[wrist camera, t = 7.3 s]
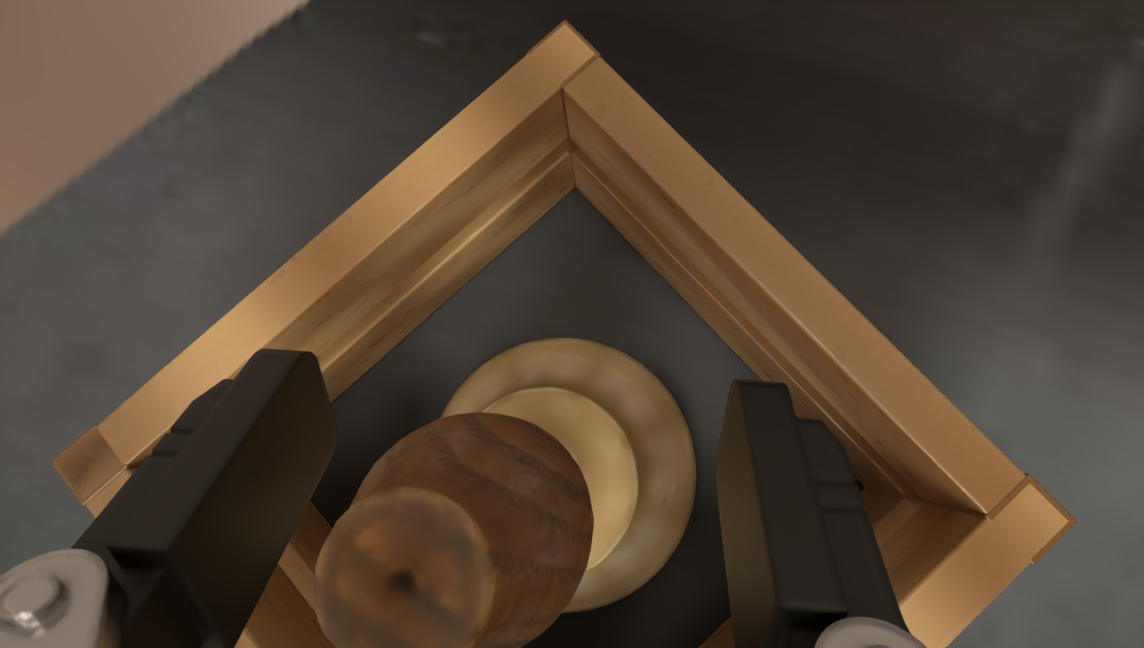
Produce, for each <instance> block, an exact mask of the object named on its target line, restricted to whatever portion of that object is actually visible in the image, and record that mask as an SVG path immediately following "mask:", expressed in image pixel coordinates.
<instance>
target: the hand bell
mask: <svg viewBox="0 0 1144 648" xmlns="http://www.w3.org/2000/svg"><path fill="white" fill-rule="evenodd" d="M696 479H697V470H696V459H695V452H694V447H693V442H692V438H691V435H690V431H689V428H688V426H687V423H686V421H685V419H684V416H683V414H682V412H681V410H680V408H679V406H678V404H677V403H676V401H675V399H674V398H673V396H672V395H671V394H670V392H669V391H668V390H667V389H666V387H665V386H664V385H663V383H662V382H661V381H660V380H659V379H658V378H657V377H656V376H655V375H654V374H653V373H652V372H651V371H650V370H649V369H647V368H646V367H645V366H644V365H643V364H641V363H640V362H638V361H637V360H635V359H634V358H632V357H631V356H629V355H627V354H626V353H624V352H622V351H620V350H617V349H615V348H612V347H610V346H607V345H605V344H602V343H598V342H595V341H591V340H585V339H579V338H563V337H553V338H546V339H540V340H535V341H530V342H526V343H523V344H520V345H517V346H515V347H512V348H510V349H508V350H506V351H503V352H501V353H499V354H497V355H495V356H494V357H492V358H491V359H489V360H487V361H486V362H485V363H484V364H482V365H481V366H480V367H478V368H477V369H476V370H475V371H474V372H473V373H472V374H471V375H469V376H468V377H467V378H466V380H465V381H464V382H463V383H462V384H461V385H460V386H459V388H458V389H457V390H456V392H455V393H454V394H453V396H452V397H451V399H450V400H449V402H448V404H447V405H446V407H445V409H444V411H443V413H442V416H441V418H440V419H437V420H435V421H433V422H431V423H429V424H427V425H425V426H423V427H421V428H419V429H417V430H415V431H413V432H412V433H410V434H409V435H407V436H406V437H404V438H402V439H401V440H399V441H398V442H397V443H396V444H395V445H394V446H392V447H391V448H390V449H389V450H388V451H387V452H386V453H385V454H384V455H383V456H382V457H381V458H380V459H379V460H377V461H376V462H375V464H374V465H373V467H372V468H371V470H370V471H369V473H368V474H367V476H366V477H365V479H364V480H363V482H362V484H361V486H360V488H359V490H358V492H357V494H356V496H355V498H354V500H353V502H352V503H351V505H350V508H349V509H348V510H347V511H346V512H345V513H344V514H343V515H342V516H341V517H340V518H339V519H338V520H337V521H336V523H335V525H334V527H333V529H332V530H331V532H330V534H329V536H328V538H327V540H326V541H325V543H324V545H323V547H322V549H321V551H320V554H319V557H318V560H317V563H316V566H315V600H314V604H315V609H316V614H317V619H318V621H319V623H320V626H321V628H322V630H323V632H324V634H325V637H326V638H327V639H328V640H329V641H331V642H332V643H333V644H334V645H335V646H336V647H337V648H521V647H523V646H524V645H526V644H527V643H529V642H530V641H532V640H533V639H535V638H536V637H538V636H539V635H541V634H542V633H543V632H544V631H545V630H546V629H547V628H548V627H549V626H550V625H551V624H552V623H553V622H554V621H555V620H556V619H557V618H558V617H559V615H560V614H561V613H570V612H581V611H588V610H593V609H596V608H599V607H603V606H606V605H609V604H612V603H614V602H616V601H618V600H620V599H622V598H624V597H626V596H628V595H630V594H631V593H633V592H635V591H636V590H638V589H639V588H640V587H642V586H643V585H644V584H645V583H647V582H648V581H649V580H650V579H651V578H652V577H653V576H655V575H656V573H657V572H658V571H659V570H660V569H661V568H662V567H663V566H664V564H665V563H666V562H667V561H668V559H669V558H670V557H671V556H672V554H673V553H674V551H675V549H676V548H677V546H678V544H679V542H680V541H681V539H682V537H683V534H684V532H685V530H686V527H687V525H688V522H689V519H690V516H691V512H692V509H693V506H694V500H695V493H696Z"/></svg>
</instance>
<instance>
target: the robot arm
mask: <svg viewBox="0 0 1144 648" xmlns="http://www.w3.org/2000/svg"><path fill="white" fill-rule="evenodd" d="M336 434H337V429H336V421H335V417H334V414H333V410H332V407H331V403H330V400H329V396H328V393H327V389H326V386H325V383H324V379H323V376H322V372H321V369H320V365H319V362H318V359H317V357H316V356H315V355H314V353H312V352H310V351H298V350H282V349H266V348H264V349H260V350H258V351H256V352H255V353H254V354H253V355H252V357H251V358H250V359H249V360H248V362H247V363H246V364H245V366H244V367H243V368H242V369H241V371H240V372H239V373H238V375H237V376H236V377H235V379H223V380H222V381H220V382H219V383H217V384H216V385H215V386H213V387H212V388H210V389H209V390H207V391H206V392H205V393H203V394H202V395H200V396H199V397H197V398H196V399H194V400H193V401H192V402H191V403H190V404H189V406H188V407H187V408H186V409H185V411H184V412H183V413H182V414H181V415H180V417H179V418H178V419H177V420H176V422H175V423H174V424H173V425H172V426H171V431H170V433H166V434H165V435H164V436H163V437H162V439H161V440H160V441H159V442H158V443H157V445H156V446H155V447H154V448H153V450H152V451H153V452H152V455H151V456H147V457H146V458H145V459H144V461H143V462H142V463H141V464H140V465H139V467H138V468H137V469H136V470H135V471H134V473H133V474H132V475H131V476H130V478H129V479H128V480H127V481H126V482H125V484H124V485H123V486H122V487H121V489H120V490H119V491H118V492H117V493H116V495H115V496H114V497H113V498H112V500H111V501H110V502H109V503H108V504H107V506H106V507H105V508H104V509H103V510H102V512H101V513H100V514H99V515H98V517H97V518H96V519H95V520H94V521H93V523H92V524H91V525H90V526H89V528H88V529H87V530H86V531H85V532H84V534H83V535H82V536H81V537H80V539H79V540H78V541H77V542H76V543H75V544H74V545H73V546H72V547H71V549H64V550H57V551H53V552H49V553H46V554H43V555H40V556H37V557H34V558H32V559H30V560H28V561H25V562H23V563H21V564H20V565H18V566H16V567H14V568H12V569H11V570H9V571H8V572H6V573H5V574H3V575H2V576H0V648H235V646H236V644H237V642H238V640H239V638H240V636H241V634H242V632H243V630H244V628H245V626H246V624H247V622H248V620H249V618H250V616H251V615H252V613H253V611H254V609H255V607H256V605H257V603H258V601H259V599H260V597H261V595H262V593H263V591H264V589H265V587H266V585H267V583H268V581H269V579H270V577H271V576H272V574H273V572H274V570H275V568H276V566H277V564H278V562H279V560H280V558H281V556H282V554H283V552H284V550H285V548H286V546H287V544H288V542H289V540H290V539H291V537H292V535H293V533H294V531H295V529H296V527H297V525H298V523H299V521H300V519H301V517H302V515H303V513H304V511H305V509H306V507H307V505H308V503H309V502H310V500H311V498H312V496H313V494H314V492H315V490H316V488H317V486H318V484H319V482H320V480H321V478H322V476H323V474H324V472H325V470H326V468H327V466H328V464H329V463H330V460H331V458H332V455H333V452H334V449H335V444H336ZM716 488H717V498H718V507H719V515H720V524H721V533H722V541H723V550H724V559H725V567H726V576H727V585H728V593H729V602H730V611H731V619H732V628H733V637H734V646H735V648H927V647H926V646H925V645H924V644H923V643H922V642H921V641H919V640H918V639H917V638H915V637H914V636H913V635H912V634H911V633H910V631H909V629H908V627H907V626H906V624H905V621H904V619H903V616H902V614H901V611H900V608H899V605H898V603H897V600H896V597H895V594H894V591H893V588H892V585H891V582H890V579H889V576H888V573H887V570H886V567H885V564H884V561H883V558H882V555H881V552H880V549H879V546H878V544H877V541H876V538H875V535H874V532H873V529H872V526H871V523H870V520H869V517H868V514H867V512H865V511H864V502H863V499H862V496H861V493H860V490H859V487H858V485H856V484H855V476H854V473H853V470H852V467H851V464H850V461H849V458H848V455H847V452H846V449H845V447H844V446H843V445H842V444H841V442H840V441H839V440H838V439H837V438H836V437H835V435H834V434H833V433H832V432H831V431H830V430H829V428H828V427H827V426H826V425H825V424H824V423H823V421H822V420H813V419H798V418H796V414H795V411H794V407H793V403H792V399H791V396H790V392H789V389H788V387H787V385H786V384H785V383H784V382H768V381H753V380H737V379H735V380H733V382H732V384H731V388H730V392H729V397H728V402H727V407H726V412H725V417H724V422H723V427H722V432H721V437H720V442H719V446H718V452H717V462H716Z"/></svg>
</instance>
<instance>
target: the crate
mask: <svg viewBox="0 0 1144 648" xmlns="http://www.w3.org/2000/svg"><path fill="white" fill-rule="evenodd" d="M573 188H577V189H578V190H579V191H580V192H581V193H582V194H583V195H584V196H585V198H586V199H587V200H588V201H589V202H590V203H591V204H592V205H593V206H594V207H595V208H596V209H597V210H598V211H599V212H600V213H601V214H602V215H603V216H604V217H605V218H606V219H607V220H608V221H609V222H610V223H611V224H612V226H613V227H614V228H615V229H616V230H617V231H618V232H619V233H620V234H621V235H622V236H623V237H624V238H625V239H626V240H627V241H628V242H629V243H630V244H631V245H632V246H633V247H634V248H635V249H636V250H637V251H638V252H639V254H640V255H641V256H642V257H643V258H644V259H645V260H646V261H647V262H648V263H649V264H650V265H651V266H652V267H653V268H654V269H655V270H656V271H657V272H658V273H659V274H660V275H661V276H662V277H663V278H664V279H665V280H666V282H667V283H668V284H669V285H670V286H671V287H672V288H673V289H674V290H675V291H676V292H677V293H678V294H679V295H680V296H681V297H682V298H683V299H684V300H685V301H686V302H687V303H688V304H689V305H690V306H691V307H692V308H693V310H694V311H695V312H696V313H697V314H698V315H699V316H700V317H701V318H702V319H703V320H704V321H705V322H706V323H707V324H708V325H709V326H710V327H711V328H712V329H713V330H714V331H715V332H716V333H717V334H718V335H719V336H720V338H721V339H722V340H723V341H724V342H725V343H726V344H727V345H728V346H729V347H730V348H731V349H732V350H733V351H734V352H735V353H736V354H737V355H738V356H739V357H740V358H741V359H742V360H743V361H744V362H745V363H746V364H747V366H748V367H749V368H750V369H751V370H752V371H753V372H754V373H755V374H756V375H757V376H758V377H759V378H760V379H761V380H762V381H768V382H784V383H785V384H786V385H787V387H788V389H789V392H790V396H791V399H792V403H793V407H794V411H795V414H796V416H797V417H798V418H799V419H813V420H822V421H823V423H824V424H825V425H826V426H827V427H828V428H829V430H830V431H831V432H832V433H833V434H834V435H835V437H836V438H837V439H838V440H839V441H840V442H841V444H842V445H843V446H844V447H845V449H846V452H847V455H848V458H849V461H850V464H851V467H852V470H853V473H854V476H855V478H856V479H857V480H858V481H859V482H860V483H861V484H862V485H863V488H864V489H863V490H862V491H861V492H860V493H861V496H862V499H863V502H864V511H865V512H867V514H868V517H869V520H870V523H871V526H872V529H873V532H874V535H875V538H876V541H877V544H878V546H879V549H880V552H881V555H882V558H883V561H884V564H885V567H886V570H887V573H888V576H889V579H890V582H891V585H892V588H893V591H894V594H895V597H896V600H897V603H898V605H899V608H900V611H901V614H902V616H903V619H904V621H905V624H906V626H907V627H908V629H909V631H910V633H911V634H912V635H913V636H914V637H915V638H917V639H918V640H919V641H921V642H922V643H923V644H924V645H925V646H926V647H927V648H946V647H947V646H948V645H949V644H950V643H951V642H952V641H953V640H954V639H955V638H956V637H957V636H958V635H959V634H960V633H961V632H962V631H963V630H964V629H965V628H966V627H967V626H968V625H969V624H970V623H971V622H972V621H973V620H974V619H975V618H976V617H977V616H978V615H979V614H980V613H981V612H982V611H983V610H984V609H985V608H986V607H987V606H988V605H989V604H990V603H991V602H992V601H993V600H994V599H995V598H996V597H997V596H998V595H999V594H1000V593H1001V592H1002V591H1003V590H1004V589H1005V588H1006V587H1007V586H1008V585H1009V584H1010V583H1011V582H1012V581H1013V580H1014V579H1015V578H1016V577H1017V576H1018V575H1019V574H1020V573H1021V572H1022V571H1023V570H1024V569H1025V568H1026V567H1027V566H1028V565H1029V564H1032V565H1034V564H1036V563H1037V562H1038V561H1039V560H1040V559H1041V558H1042V557H1043V556H1044V555H1045V554H1046V553H1047V552H1048V551H1049V550H1050V549H1051V548H1052V547H1053V546H1054V545H1055V544H1056V543H1057V542H1058V541H1059V540H1060V539H1061V538H1062V537H1063V536H1064V535H1065V534H1066V533H1067V532H1068V531H1069V530H1070V529H1071V528H1072V527H1073V526H1074V525H1075V524H1076V523H1077V521H1076V520H1075V519H1074V518H1073V517H1072V516H1071V515H1070V514H1069V513H1068V512H1067V511H1066V510H1065V509H1064V508H1063V507H1062V506H1061V505H1060V504H1059V503H1058V502H1057V501H1056V500H1055V499H1054V498H1053V497H1052V496H1051V495H1050V494H1049V493H1048V492H1047V491H1046V490H1045V489H1044V488H1043V487H1042V486H1041V485H1040V484H1039V483H1038V482H1037V481H1036V480H1035V479H1034V478H1033V477H1032V476H1031V475H1029V474H1026V473H1023V472H1022V471H1021V470H1020V469H1019V468H1018V467H1017V466H1016V465H1015V464H1014V463H1013V462H1012V461H1011V460H1010V459H1009V458H1008V457H1007V456H1006V455H1005V454H1004V453H1003V452H1002V451H1001V450H1000V449H999V448H998V447H997V446H996V445H995V444H994V443H993V442H992V441H991V440H990V439H989V438H988V437H987V436H986V435H985V434H984V433H983V432H982V431H981V430H980V429H979V428H978V427H977V426H975V425H974V424H973V423H972V422H971V421H970V420H969V419H968V418H967V417H966V416H965V415H964V414H963V413H962V412H961V411H960V410H959V409H958V408H957V407H956V406H955V405H954V404H953V403H952V402H951V401H950V400H949V399H948V398H947V397H946V396H945V395H944V394H943V393H942V392H941V391H940V390H939V389H938V388H937V387H936V386H935V385H934V384H933V383H932V382H931V381H930V380H929V379H928V378H927V377H926V376H925V375H924V374H923V373H922V372H921V371H920V370H918V369H917V368H916V367H915V366H914V365H913V364H912V363H911V362H910V361H909V360H908V359H907V358H906V357H905V356H904V355H903V354H902V353H901V352H900V351H899V350H898V349H897V348H896V347H895V346H894V345H893V344H892V343H891V342H890V341H889V340H888V339H887V338H886V337H885V336H884V335H883V334H882V333H881V332H880V331H879V330H878V329H877V328H876V327H875V326H874V325H873V324H872V323H871V322H870V321H869V320H868V319H867V318H866V317H865V316H864V315H862V314H861V313H860V312H859V311H858V310H857V309H856V308H855V307H854V306H853V305H852V304H851V303H850V302H849V301H848V300H847V299H846V298H845V297H844V296H843V295H842V294H841V293H840V292H839V291H838V290H837V289H836V288H835V287H834V286H833V285H832V284H831V283H830V282H829V281H828V280H827V279H826V278H825V277H824V276H823V275H822V274H821V273H820V272H819V271H818V270H817V269H816V268H815V267H814V266H813V265H812V264H811V263H810V262H809V261H808V260H807V259H805V258H804V257H803V256H802V255H801V254H800V253H799V252H798V251H797V250H796V249H795V248H794V247H793V246H792V245H791V244H790V243H789V242H788V241H787V240H786V239H785V238H784V237H783V236H782V235H781V234H780V233H779V232H778V231H777V230H776V229H775V228H774V227H773V226H772V225H771V224H770V223H769V222H768V221H767V220H766V219H765V218H764V217H763V216H762V215H761V214H760V213H759V212H758V211H757V210H756V209H755V208H754V207H753V206H752V205H751V204H750V203H748V202H747V201H746V200H745V199H744V198H743V197H742V196H741V195H740V194H739V193H738V192H737V191H736V190H735V189H734V188H733V187H732V186H731V185H730V184H729V183H728V182H727V181H726V180H725V179H724V178H723V177H722V176H721V175H720V174H719V173H718V172H717V171H716V170H715V169H714V168H713V167H712V166H711V165H710V164H709V163H708V162H707V161H706V160H705V159H704V158H703V157H702V156H701V155H700V154H699V153H698V152H697V151H696V150H695V149H694V148H692V147H691V146H690V145H689V144H688V143H687V142H686V141H685V140H684V139H683V138H682V137H681V136H680V135H679V134H678V133H677V132H676V131H675V130H674V129H673V128H672V127H671V126H670V125H669V124H668V123H667V122H666V121H665V120H664V119H663V118H662V117H661V116H660V115H659V114H658V113H657V112H656V111H655V110H654V109H653V108H652V107H651V106H650V105H649V104H648V103H647V102H646V101H645V100H644V99H643V98H642V97H641V96H640V95H639V94H638V93H637V92H635V91H634V90H633V89H632V88H631V87H630V86H629V85H628V84H627V83H626V82H625V81H624V80H623V79H622V78H621V77H620V76H619V75H618V74H617V73H616V72H615V71H614V70H613V69H612V68H611V67H610V66H609V65H608V64H607V63H606V62H605V61H604V60H603V59H602V58H601V55H600V53H599V52H598V51H597V50H596V49H595V48H594V47H593V46H592V45H591V44H590V43H589V42H588V41H587V40H586V39H585V38H584V37H583V36H582V35H581V34H580V33H579V32H577V31H576V30H575V29H574V28H573V27H572V26H571V25H570V24H569V23H568V22H567V21H566V20H565V21H563V22H562V23H561V24H559V25H558V26H557V27H556V28H555V29H554V30H552V31H551V32H550V33H549V34H548V35H547V36H545V37H544V38H543V39H542V40H541V41H540V42H539V43H537V44H536V45H535V46H534V47H533V48H532V49H530V50H529V51H528V52H527V54H526V56H525V57H524V58H523V59H521V60H520V61H519V62H518V63H517V64H516V65H514V66H513V67H512V68H511V69H510V70H509V71H508V72H506V73H505V74H504V75H503V76H502V77H501V78H499V79H498V80H497V81H496V82H495V83H494V84H492V85H491V86H490V87H489V88H488V89H487V90H486V91H484V92H483V93H482V94H481V95H480V96H479V97H477V98H476V99H475V100H474V101H473V102H472V103H470V104H469V105H468V106H467V107H466V108H465V109H463V110H462V111H461V112H460V113H459V114H458V115H457V116H455V117H454V118H453V119H452V120H451V121H450V122H448V123H447V124H446V125H445V126H444V127H443V128H441V129H440V130H439V131H438V132H437V133H436V134H434V135H433V136H432V137H431V138H430V139H429V140H428V141H426V142H425V143H424V144H423V145H422V146H421V147H419V148H418V149H417V150H416V151H415V152H414V153H412V154H411V155H410V156H409V157H408V158H407V159H405V160H404V161H403V162H402V163H401V164H400V165H399V166H397V167H396V168H395V169H394V170H393V171H392V172H390V173H389V174H388V175H387V176H386V177H385V178H383V179H382V180H381V181H380V182H379V183H378V184H376V185H375V186H374V187H373V188H372V189H371V190H370V191H368V192H367V193H366V194H365V195H364V196H363V197H361V198H360V199H359V200H358V201H357V202H356V203H354V204H353V205H352V206H351V207H350V208H349V209H347V210H346V211H345V212H344V213H343V214H342V215H341V216H339V217H338V218H337V219H336V220H335V221H334V222H332V223H331V224H330V225H329V226H328V227H327V228H325V229H324V230H323V231H322V232H321V233H320V234H318V235H317V236H316V237H315V238H314V239H313V240H312V241H310V242H309V243H308V244H307V245H306V246H305V247H303V248H302V249H301V250H300V251H299V252H298V253H296V254H295V255H294V256H293V257H292V258H291V259H289V260H288V261H287V262H286V263H285V264H284V265H283V266H281V267H280V268H279V269H278V270H277V271H276V272H274V273H273V274H272V275H271V276H270V277H269V278H267V279H266V280H265V281H264V282H263V283H262V284H260V285H259V286H258V287H257V288H256V289H255V290H254V291H252V292H251V293H250V294H249V295H248V296H247V297H245V298H244V299H243V300H242V301H241V302H240V303H238V304H237V305H236V306H235V307H234V308H233V309H231V310H230V311H229V312H228V313H227V314H226V315H225V316H223V317H222V318H221V319H220V320H219V321H218V322H216V323H215V324H214V325H213V326H212V327H211V328H209V329H208V330H207V331H206V332H205V333H204V334H203V335H201V336H200V337H199V338H198V339H197V340H196V341H194V342H193V343H192V344H191V345H190V346H189V347H187V348H186V349H185V350H184V351H183V352H182V353H180V354H179V355H178V356H177V357H176V358H175V359H174V360H172V361H171V362H170V363H169V364H168V365H167V366H165V367H164V368H163V369H162V370H161V371H160V372H158V373H157V374H156V375H155V376H154V377H153V378H151V379H150V380H149V381H148V382H147V383H146V384H145V385H143V386H142V387H141V388H140V389H139V390H138V391H136V392H135V393H134V394H133V395H132V396H131V397H129V398H128V399H127V400H126V401H125V402H124V403H122V404H121V405H120V406H119V407H118V408H117V409H116V410H114V411H113V412H112V413H111V414H110V415H109V416H107V417H106V418H105V419H104V420H103V421H102V422H100V423H97V424H95V425H94V426H92V427H91V428H90V429H89V430H88V431H87V432H85V433H84V434H83V435H82V436H81V437H80V438H78V439H77V440H76V441H75V442H74V443H73V444H71V445H70V446H69V447H68V448H67V449H66V450H65V451H63V452H62V453H61V454H60V455H59V456H58V457H56V458H55V459H54V460H53V461H52V464H53V465H54V466H55V468H56V469H57V471H58V472H59V473H60V475H61V476H62V478H63V479H64V480H65V482H66V483H67V485H68V486H69V487H70V489H71V490H72V491H73V493H74V494H75V496H76V497H77V498H78V500H79V501H80V503H81V504H82V505H87V507H88V508H89V510H90V511H91V513H92V514H93V515H94V517H95V518H97V517H98V515H99V514H100V513H101V512H102V510H103V509H104V508H105V507H106V506H107V504H108V503H109V502H110V501H111V500H112V498H113V497H114V496H115V495H116V493H117V492H118V491H119V490H120V489H121V487H122V486H123V485H124V484H125V482H126V481H127V480H128V479H129V478H130V476H131V475H132V474H133V473H134V471H135V470H136V469H137V468H138V467H139V465H140V464H141V463H142V462H143V461H144V459H145V458H146V457H147V456H151V455H152V452H153V451H152V450H153V448H154V447H155V446H156V445H157V443H158V442H159V441H160V440H161V439H162V437H163V436H164V435H165V434H166V433H170V431H171V426H172V425H173V424H174V423H175V422H176V420H177V419H178V418H179V417H180V415H181V414H182V413H183V412H184V411H185V409H186V408H187V407H188V406H189V404H190V403H191V402H192V401H193V400H194V399H196V398H197V397H199V396H200V395H202V394H203V393H205V392H206V391H207V390H209V389H210V388H212V387H213V386H215V385H216V384H217V383H219V382H220V381H222V380H223V379H235V377H236V376H237V375H238V373H239V372H240V371H241V369H242V368H243V367H244V366H245V364H246V363H247V362H248V360H249V359H250V358H251V357H252V355H253V354H254V353H255V352H256V351H258V350H260V349H264V348H266V349H282V350H298V351H310V352H312V353H314V355H315V356H316V357H317V359H318V362H319V365H320V369H321V372H322V376H323V379H324V383H325V386H326V389H327V393H328V396H329V400H330V403H332V402H333V401H334V400H335V399H336V398H337V397H338V396H340V395H341V394H342V393H343V392H344V391H345V390H346V389H347V388H349V387H350V386H351V385H352V384H353V383H354V382H355V381H356V380H358V379H359V378H360V377H361V376H362V375H363V374H364V373H366V372H367V371H368V370H369V369H370V368H371V367H372V366H373V365H375V364H376V363H377V362H378V361H379V360H380V359H381V358H382V357H384V356H385V355H386V354H387V353H388V352H389V351H390V350H392V349H393V348H394V347H395V346H396V345H397V344H398V343H399V342H401V341H402V340H403V339H404V338H405V337H406V336H407V335H408V334H410V333H411V332H412V331H413V330H414V329H415V328H416V327H417V326H419V325H420V324H421V323H422V322H423V321H424V320H425V319H427V318H428V317H429V316H430V315H431V314H432V313H433V312H434V311H436V310H437V309H438V308H439V307H440V306H441V305H442V304H443V303H445V302H446V301H447V300H448V299H449V298H450V297H451V296H453V295H454V294H455V293H456V292H457V291H458V290H459V289H460V288H462V287H463V286H464V285H465V284H466V283H467V282H468V281H469V280H471V279H472V278H473V277H474V276H475V275H476V274H477V273H479V272H480V271H481V270H482V269H483V268H484V267H485V266H486V265H488V264H489V263H490V262H491V261H492V260H493V259H494V258H495V257H497V256H498V255H499V254H500V253H501V252H502V251H503V250H505V249H506V248H507V247H508V246H509V245H510V244H511V243H512V242H514V241H515V240H516V239H517V238H518V237H519V236H520V235H521V234H523V233H524V232H525V231H526V230H527V229H528V228H529V227H531V226H532V225H533V224H534V223H535V222H536V221H537V220H538V219H540V218H541V217H542V216H543V215H544V214H545V213H546V212H547V211H549V210H550V209H551V208H552V207H553V206H554V205H555V204H557V203H558V202H559V201H560V200H561V199H562V198H563V197H564V196H566V195H567V194H568V193H569V192H570V191H571V190H572V189H573ZM332 529H333V528H332V527H331V526H330V525H329V523H328V522H327V521H326V520H325V518H324V517H323V516H322V515H321V513H320V512H319V511H318V509H317V508H316V507H315V506H314V504H313V503H312V502H311V501H310V502H309V503H308V505H307V507H306V509H305V511H304V513H303V515H302V517H301V519H300V521H299V523H298V525H297V527H296V529H295V531H294V533H293V535H292V537H291V539H290V540H289V542H288V544H287V546H286V548H285V550H284V552H283V554H282V556H281V558H280V560H279V562H278V564H277V566H276V568H275V570H274V572H273V574H272V576H271V577H270V579H269V581H268V583H267V585H266V587H265V589H264V591H263V593H262V595H261V597H260V599H259V601H258V603H257V605H256V607H255V609H254V611H253V613H252V615H251V616H250V618H249V620H248V622H247V624H246V626H245V628H244V630H243V632H242V634H241V636H240V638H239V640H238V642H237V644H236V646H235V648H337V647H336V646H335V645H334V644H333V643H332V642H331V641H329V640H328V639H327V638H326V637H325V634H324V632H323V630H322V628H321V626H320V623H319V621H318V619H317V614H316V609H315V604H314V600H315V566H316V563H317V560H318V557H319V554H320V551H321V549H322V547H323V545H324V543H325V541H326V540H327V538H328V536H329V534H330V532H331V530H332ZM698 648H735V646H734V637H733V628H732V619H731V617H730V618H728V619H727V620H726V621H725V622H724V623H723V624H722V625H721V626H720V627H719V628H718V629H717V630H716V631H715V632H714V633H713V634H712V635H711V636H710V637H709V638H708V639H707V640H706V641H705V642H704V643H702V644H701V645H700V646H699V647H698Z"/></svg>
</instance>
